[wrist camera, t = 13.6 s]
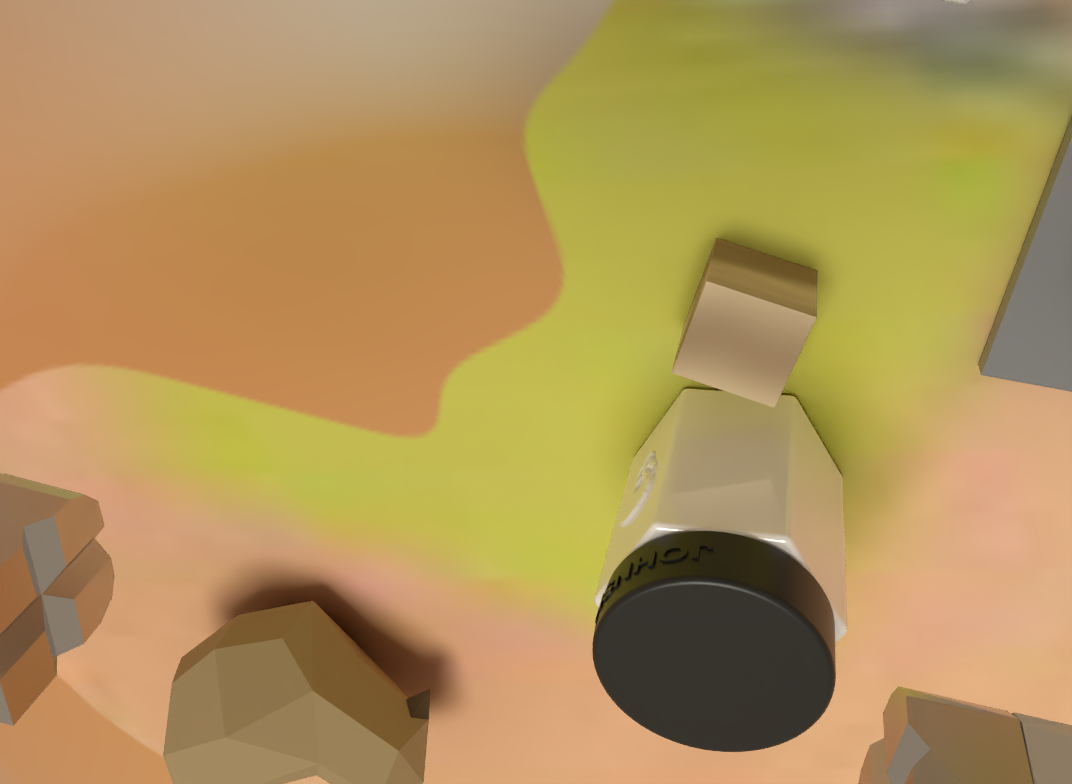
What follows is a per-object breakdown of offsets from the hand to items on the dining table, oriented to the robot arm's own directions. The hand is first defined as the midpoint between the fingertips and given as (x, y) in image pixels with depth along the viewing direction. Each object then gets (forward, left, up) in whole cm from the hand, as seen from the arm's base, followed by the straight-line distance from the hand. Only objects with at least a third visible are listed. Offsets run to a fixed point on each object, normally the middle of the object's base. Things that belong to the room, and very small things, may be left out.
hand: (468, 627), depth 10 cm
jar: (+18, +4, -29) cm, 35 cm away
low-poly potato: (+36, -15, -29) cm, 49 cm away
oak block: (+10, +3, -29) cm, 31 cm away
